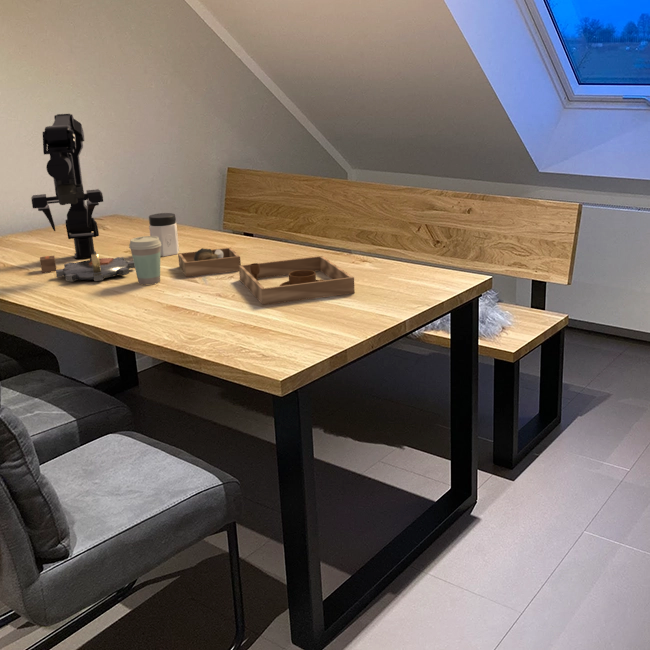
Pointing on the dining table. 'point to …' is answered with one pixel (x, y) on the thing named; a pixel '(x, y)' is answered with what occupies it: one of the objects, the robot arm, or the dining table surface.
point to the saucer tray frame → (296, 292)
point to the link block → (48, 264)
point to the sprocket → (95, 268)
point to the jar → (165, 232)
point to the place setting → (290, 275)
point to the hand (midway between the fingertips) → (71, 229)
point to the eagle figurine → (207, 254)
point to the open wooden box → (209, 263)
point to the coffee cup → (146, 258)
